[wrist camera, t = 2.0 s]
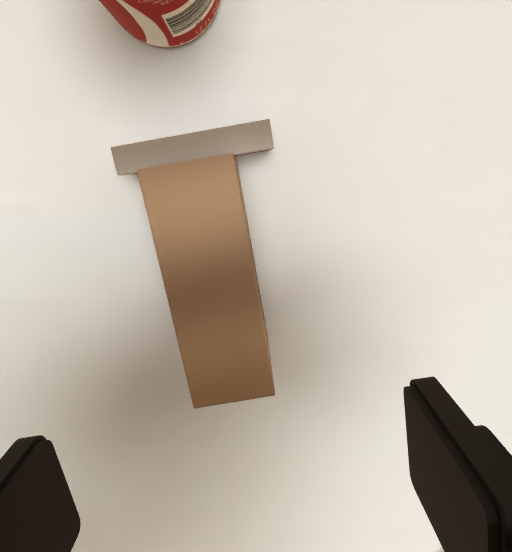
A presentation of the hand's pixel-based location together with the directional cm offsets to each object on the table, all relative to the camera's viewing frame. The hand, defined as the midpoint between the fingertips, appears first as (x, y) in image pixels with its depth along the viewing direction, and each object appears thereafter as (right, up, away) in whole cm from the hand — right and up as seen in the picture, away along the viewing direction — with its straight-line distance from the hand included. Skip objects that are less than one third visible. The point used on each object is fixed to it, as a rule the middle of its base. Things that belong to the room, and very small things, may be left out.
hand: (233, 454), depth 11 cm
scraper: (-1, +6, +11) cm, 13 cm away
